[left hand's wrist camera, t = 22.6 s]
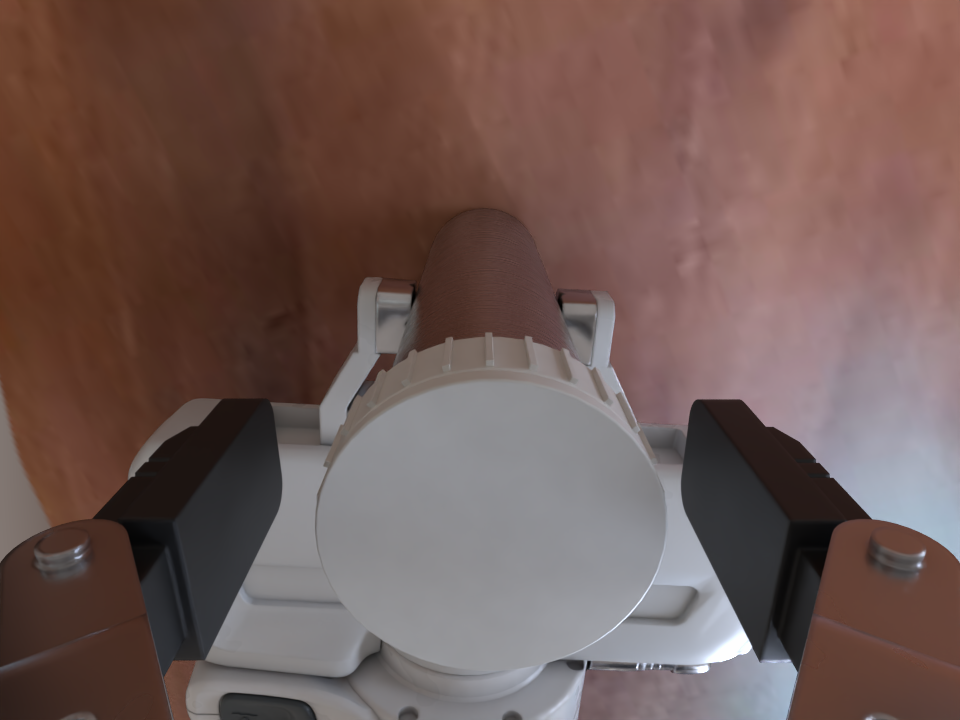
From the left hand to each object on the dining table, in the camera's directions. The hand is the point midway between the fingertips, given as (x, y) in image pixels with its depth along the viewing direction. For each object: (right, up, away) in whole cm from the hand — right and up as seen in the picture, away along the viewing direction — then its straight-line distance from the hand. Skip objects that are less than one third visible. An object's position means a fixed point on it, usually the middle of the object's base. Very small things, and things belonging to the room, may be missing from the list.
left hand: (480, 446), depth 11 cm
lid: (0, -1, -2) cm, 2 cm away
